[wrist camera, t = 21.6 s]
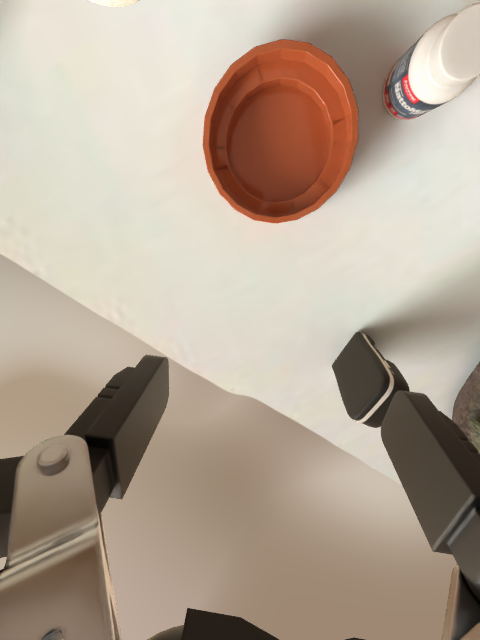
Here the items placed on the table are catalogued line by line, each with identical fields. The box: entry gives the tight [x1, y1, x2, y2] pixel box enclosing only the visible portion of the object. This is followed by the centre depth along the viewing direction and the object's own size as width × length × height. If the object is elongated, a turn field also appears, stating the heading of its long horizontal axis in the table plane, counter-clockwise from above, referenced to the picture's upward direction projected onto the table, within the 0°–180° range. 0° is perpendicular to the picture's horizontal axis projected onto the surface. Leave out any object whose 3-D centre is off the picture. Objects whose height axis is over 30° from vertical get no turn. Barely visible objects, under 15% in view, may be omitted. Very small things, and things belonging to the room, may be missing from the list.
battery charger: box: [332, 332, 410, 428], centre depth 34 cm, size 7×4×11 cm, turn 156°
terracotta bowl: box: [203, 39, 358, 223], centre depth 27 cm, size 14×14×4 cm
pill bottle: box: [383, 3, 480, 120], centre depth 22 cm, size 5×5×9 cm
